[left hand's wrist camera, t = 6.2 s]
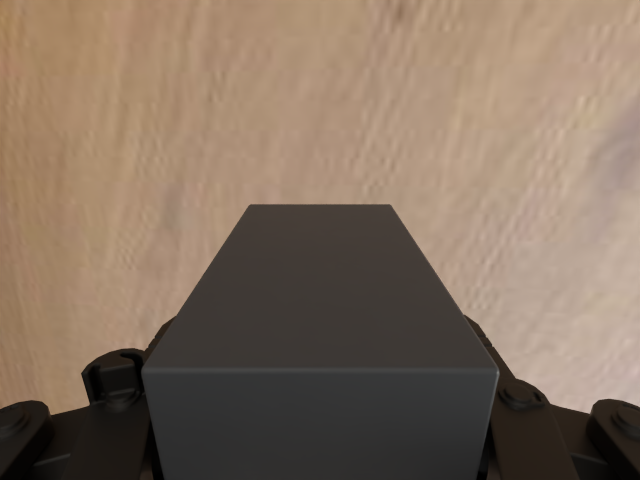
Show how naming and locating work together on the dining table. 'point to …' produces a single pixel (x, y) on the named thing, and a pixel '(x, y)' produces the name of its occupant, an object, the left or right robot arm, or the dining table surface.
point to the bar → (320, 358)
